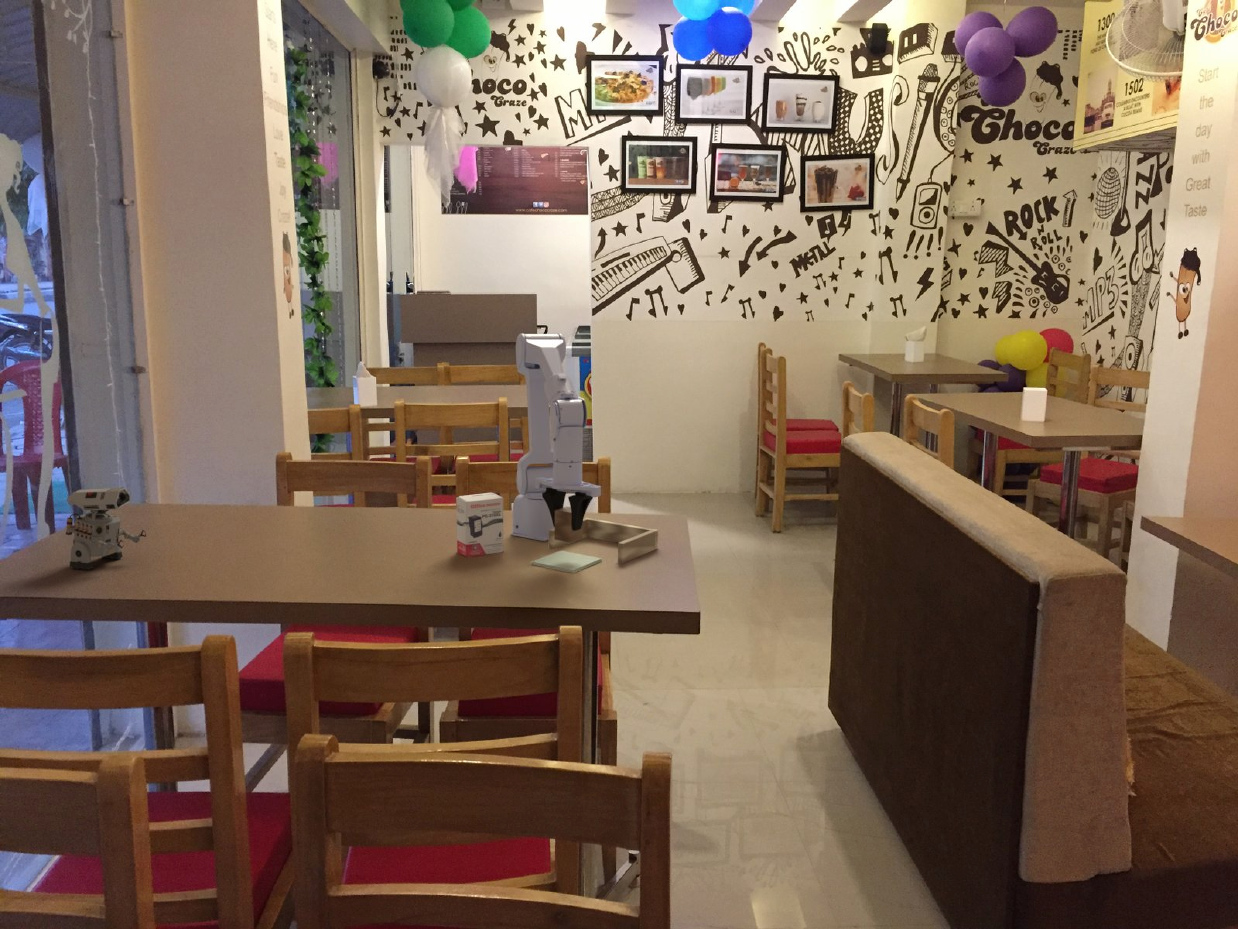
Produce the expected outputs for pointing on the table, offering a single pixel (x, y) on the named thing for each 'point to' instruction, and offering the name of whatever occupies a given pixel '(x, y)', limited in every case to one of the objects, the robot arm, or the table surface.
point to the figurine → (97, 526)
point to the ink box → (479, 524)
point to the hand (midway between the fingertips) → (567, 527)
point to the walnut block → (566, 526)
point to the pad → (566, 561)
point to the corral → (616, 537)
